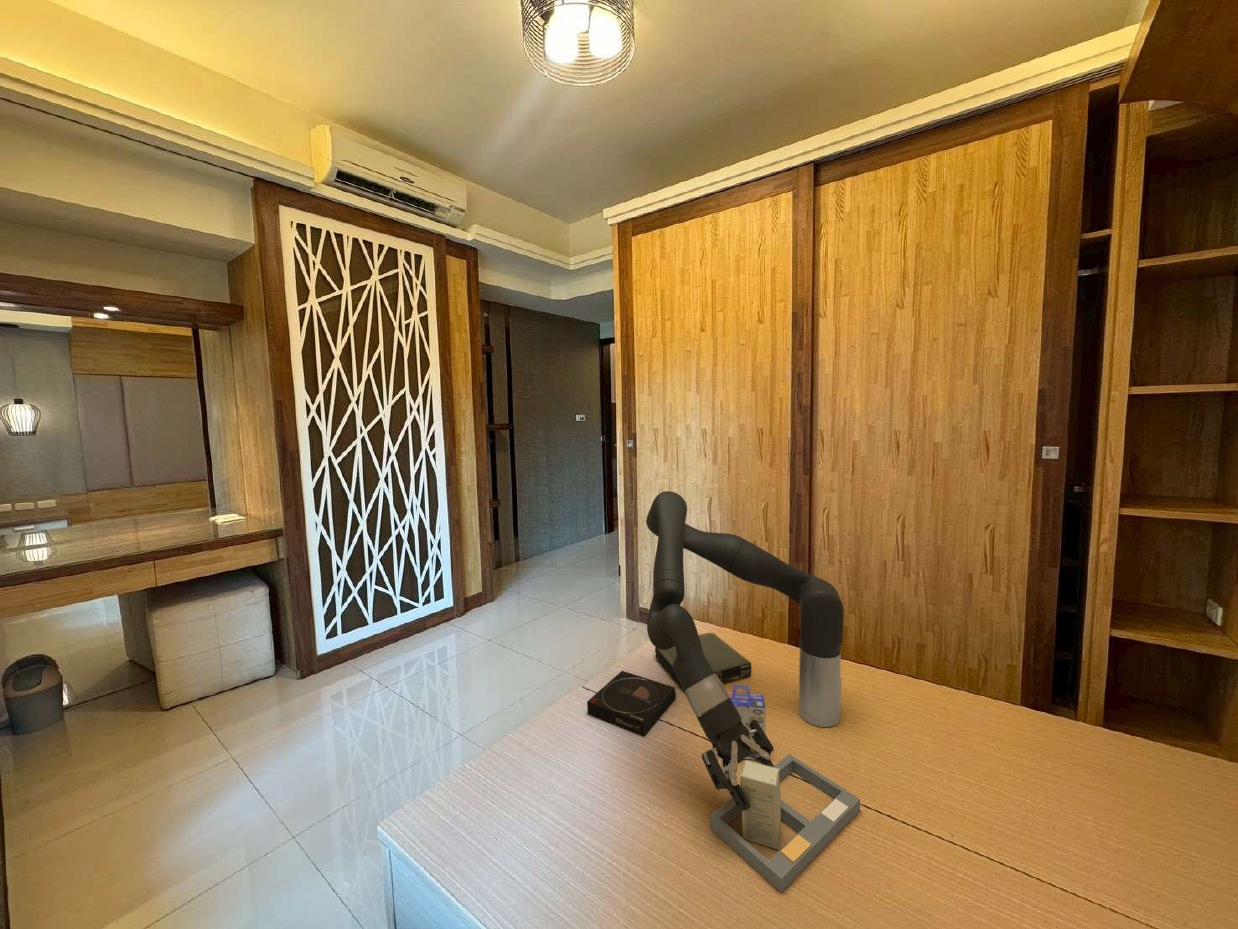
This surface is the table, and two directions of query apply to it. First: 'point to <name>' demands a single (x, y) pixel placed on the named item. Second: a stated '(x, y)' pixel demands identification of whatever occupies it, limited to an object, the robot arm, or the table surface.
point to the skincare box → (761, 804)
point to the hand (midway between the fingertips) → (761, 796)
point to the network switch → (712, 659)
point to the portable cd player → (631, 702)
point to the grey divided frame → (809, 835)
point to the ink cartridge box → (749, 707)
